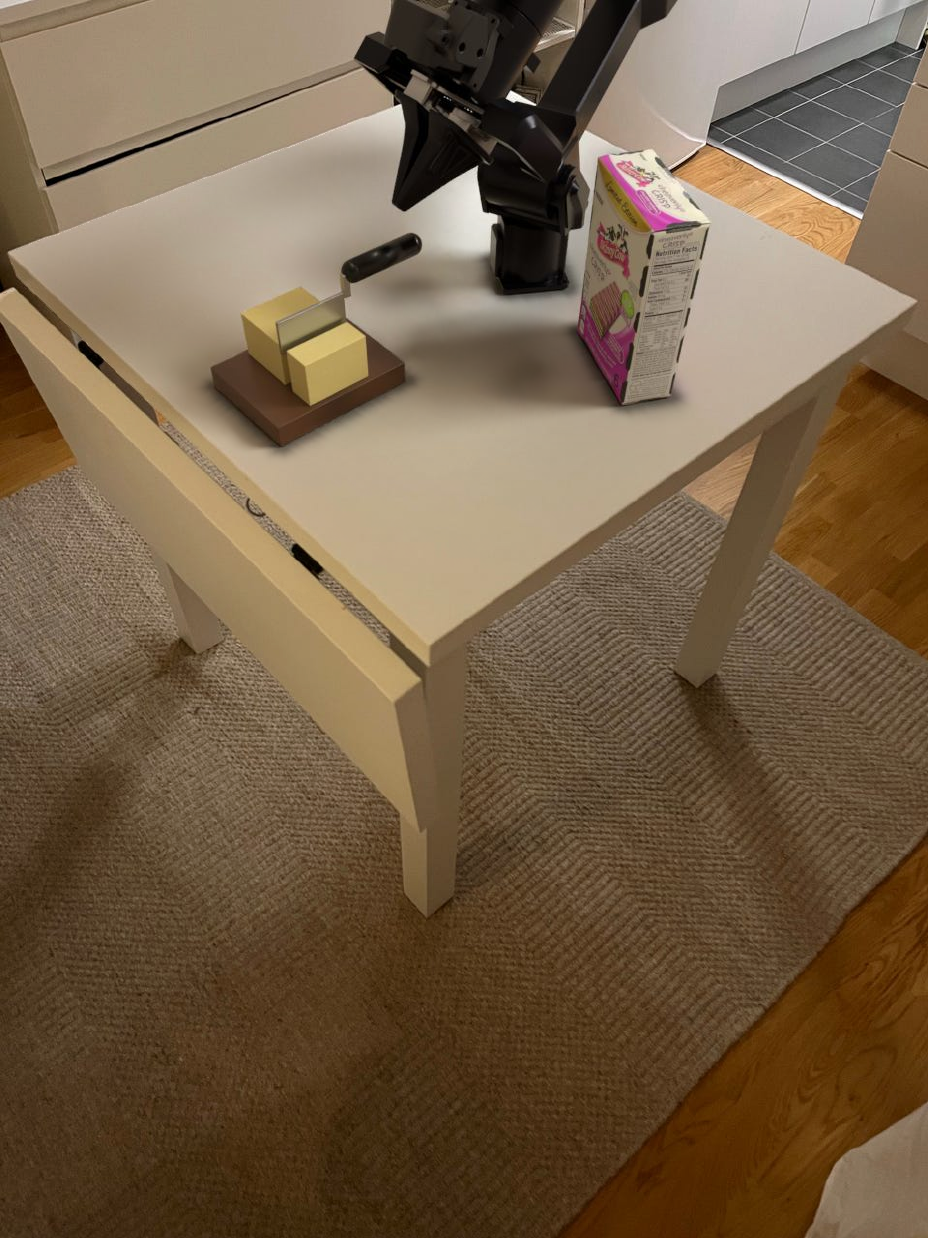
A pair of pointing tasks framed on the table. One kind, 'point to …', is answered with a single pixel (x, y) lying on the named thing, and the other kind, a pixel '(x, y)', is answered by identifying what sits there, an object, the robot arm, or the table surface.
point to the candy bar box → (639, 273)
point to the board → (284, 408)
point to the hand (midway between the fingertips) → (397, 207)
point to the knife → (343, 292)
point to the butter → (305, 349)
